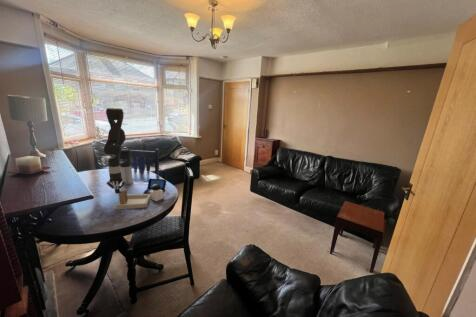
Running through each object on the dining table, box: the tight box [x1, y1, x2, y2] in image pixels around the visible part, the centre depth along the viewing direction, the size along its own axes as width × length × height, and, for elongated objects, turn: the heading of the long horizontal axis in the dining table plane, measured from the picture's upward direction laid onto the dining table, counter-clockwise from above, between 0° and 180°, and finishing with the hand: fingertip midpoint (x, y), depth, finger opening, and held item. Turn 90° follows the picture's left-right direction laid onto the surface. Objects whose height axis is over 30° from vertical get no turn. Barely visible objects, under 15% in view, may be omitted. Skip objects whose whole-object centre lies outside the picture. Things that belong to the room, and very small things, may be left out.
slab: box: [118, 188, 128, 204], centre depth 152 cm, size 8×3×10 cm, turn 12°
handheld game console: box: [143, 178, 167, 194], centre depth 176 cm, size 16×13×9 cm
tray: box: [114, 193, 151, 210], centre depth 155 cm, size 17×21×3 cm
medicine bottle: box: [150, 184, 164, 202], centre depth 162 cm, size 7×7×12 cm
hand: (117, 193), depth 151 cm, fingers closed
